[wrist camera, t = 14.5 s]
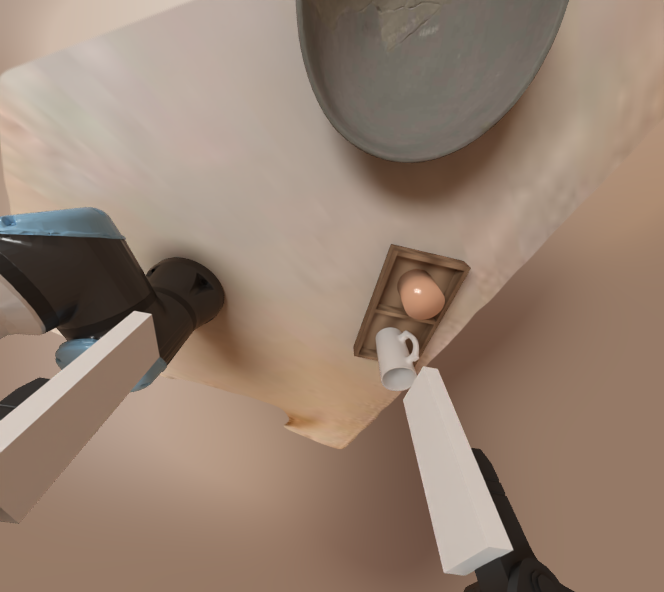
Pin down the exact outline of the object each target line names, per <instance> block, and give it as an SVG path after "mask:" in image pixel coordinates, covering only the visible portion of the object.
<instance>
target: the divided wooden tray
mask: <svg viewBox="0 0 664 592" xmlns="http://www.w3.org/2000/svg"><path fill="white" fill-rule="evenodd" d="M413 269H422V270H425V271H427V272H428V273H429V274H430V275H431V277H432V278H433V280H434V281H435V283H436V284H437V286H438V287H439V289H440V290H441V292H442V293H443V295H444V298H445V304H444V306H443V308H442V310H441V311H440V312H439V313H438V314H437V315H435V316H434V317H432V318H429V319H425V320H418V319H414V318H412V317H410V316H409V315H408V314H407V313H406V311H405V309H404V306H403V303H402V301H401V298H400V295H399V293H398V290H397V283H398V280H399V279H400V277H401V276H402V275H403V274H404V273H406V272H407V271H410V270H413ZM470 269H471V268H470V267H469V266H468V265H467V264H466V263H465V262H464V261H461V260H457V259H453V258H448V257H444V256H440V255H436V254H431V253H427V252H423V251H419V250H414V249H410V248H406V247H401V246H397V245H393V244H391V246H390V248H389V251H388V254H387V257H386V259H385V262H384V265H383V268H382V270H381V273H380V276H379V279H378V281H377V284H376V287H375V289H374V292H373V295H372V298H371V300H370V303H369V306H368V309H367V311H366V314H365V317H364V319H363V322H362V325H361V328H360V330H359V333H358V336H357V339H356V341H355V344H354V356H357V357H362V358H368V359H373V360H378V355H377V348H376V335H377V333H378V332H379V331H380V330H382V329H384V328H388V327H392V328H396V329H398V330H400V331H401V333H403V332H404V331H405V330H407V331H409V332H410V333H411V334H413V335H414V336H415V337H416V338H417V340H418V344H419V358H420V356H421V355H422V353H423V351H424V349H425V348H426V346H427V344H428V342H429V341H430V339H431V337H432V335H433V333H434V332H435V330H436V328H437V326H438V325H439V323H440V321H441V319H442V318H443V316H444V314H445V312H446V311H447V309H448V307H449V305H450V304H451V302H452V300H453V298H454V297H455V295H456V293H457V291H458V290H459V288H460V286H461V284H462V283H463V281H464V279H465V277H466V276H467V274H468V272H469V270H470ZM405 342H406V345H407V348H408V351H409V354H411V353H412V350H413V343H412V341H411V339H410V338H408V339H406V340H405ZM418 360H419V359H418ZM418 360H417V361H415V362H414V361H413V365H414V367H415V365H416V363H417V362H418Z"/></svg>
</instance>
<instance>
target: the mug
mask: <svg viewBox="0 0 664 592" xmlns="http://www.w3.org/2000/svg"><path fill="white" fill-rule="evenodd" d="M408 338H410V339H411V341H412V343H413V350H412V353H411V354H409V351H408V348H407V345H406V342H405V340H406V339H408ZM376 348H377V355H378V362H379V370H380V376H381V383H382V385H383V386H384V387H385V388H387V389H389V390H392V391H403V390H406V389H408V388H410V387H411V386H412V384H413V383H414V381H415V379H416V378H417V374H416V371H415V368H414V365H413V361H414V362H415V361H417V360H418V359H419V344H418V340H417V338H416V337H415V336H414V335H413V334H411V333H410V332H409V331H407V330H405V331H404V332H403V333H401V331H400V330H398V329H396V328H392V327H388V328H384V329H382V330H380V331H379V332H378V333H377V335H376Z"/></svg>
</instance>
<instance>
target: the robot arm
mask: <svg viewBox="0 0 664 592" xmlns="http://www.w3.org/2000/svg"><path fill="white" fill-rule="evenodd" d="M125 240H126V238H125V237H124V236H123V235H121V234H120V232H119V230H118V229H117V227H116V226H115V224H114V223H113V221H112V220H111V218H110V217H109V216H108V215H107V214H106V213H105V212H103V211H102V210H99V209H97V208H92V207H84V208H75V209H65V210H55V211H46V212H37V213H26V214H17V215H7V216H0V339H1V338H3V337H5V336H7V335H12V334H26V335H41V334H44V333H46V332H48V331H50V330H52V329H54V328H57V329H58V330H59V331H60V332H61V334H62V335H63V336H64V337H65V338H66V340H67V342H64V343H62V344H61V345H60V346H59V349H58V350H57V351H56V354H55V356H56V363H57V364H58V366H59V367H60V368H61V370H62V371H60V372H59V373H58V374H57V375H56V376H54V377H53V378H52V379H45V378H37V379H35V380H34V381H32V382H30V383H28V384H26V385H24V386H22V387H20V388H18V389H16V390H15V391H14V392H12V393H11V394H10V395H8V396H7V397H6V398H4V399H3V400H2V401H1V402H0V521H1V522H10V523H18V524H19V523H20V522H21V521H22V520H23V518H24V517H25V516H26V515H27V514H28V512H29V511H30V510H31V509H32V508H33V507H34V505H35V504H36V503H37V502H38V501H39V499H40V498H41V497H42V496H43V494H44V493H45V492H46V491H47V490H48V489H49V488H50V486H51V485H52V484H53V482H55V480H56V479H57V478H58V477H59V476H60V474H61V473H62V472H63V471H64V470H65V469H66V467H67V466H68V465H69V464H70V463H71V461H72V460H73V459H74V458H75V457H76V455H77V454H78V453H79V452H80V451H81V450H82V448H83V447H84V446H85V445H86V444H87V442H88V441H89V440H90V439H91V438H92V436H93V435H94V434H95V433H96V432H97V431H98V429H99V428H100V427H101V426H102V424H103V423H104V422H105V421H106V420H107V419H108V417H109V416H110V415H111V414H112V413H113V411H114V410H115V409H116V408H117V407H118V406H119V404H120V403H121V402H122V401H123V400H124V398H125V397H126V396H127V395H128V394H129V393H130V392H134V391H139V390H141V389H144V388H146V387H147V386H148V385H150V384H151V383H152V382H153V381H154V380H155V379H156V378H157V377H158V375H159V374H160V373H161V372H163V371H164V370H165V369H166V368H167V365H168V364H169V363H170V361H171V360H172V359H173V357H174V356H175V355H176V353H177V352H178V351H179V349H180V348H181V347H182V345H183V344H184V343H185V341H186V340H187V339H188V337H189V336H190V335H191V333H192V332H193V331H194V330H195V329H197V328H198V327H200V326H201V325H203V324H205V323H207V322H209V321H211V320H212V319H213V318H214V317H215V316H216V315H217V314H218V312H219V311H220V310H221V308H222V306H223V303H224V292H223V289H222V286H221V284H220V282H219V281H218V279H217V278H216V277H215V276H214V274H213V273H212V272H210V271H209V270H208V269H207V268H205V267H204V266H202V265H201V264H199V263H197V262H195V261H192V260H189V259H185V258H168V259H165V260H163V261H161V262H159V263H158V264H156V265H155V266H153V267H152V268H151V269H150V270H149V271H148V273H147V274H146V276H145V274H144V272H143V270H142V269H141V267H140V265H139V263H138V262H137V260H136V258H135V256H134V255H133V253H132V251H131V250H130V248H129V246H128V244H127V243H126V241H125ZM403 402H404V406H405V409H406V414H407V419H408V423H409V427H410V431H411V435H412V439H413V444H414V448H415V452H416V457H417V461H418V465H419V469H420V473H421V478H422V482H423V486H424V490H425V495H426V498H427V503H428V507H429V512H430V515H431V520H432V524H433V528H434V533H435V537H436V541H437V545H438V550H439V553H440V558H441V562H442V566H443V570H444V573H449V574H457V575H467V574H469V573H471V572H473V571H475V573H476V576H477V580H478V581H477V582H475V583H473V584H471V585H469V586H467V587H466V588H465V590H464V592H574V591H572V590H571V589H569V588H567V587H565V586H563V585H562V584H561V583H559V581H558V579H557V578H556V577H555V575H554V574H553V573H552V572H551V571H550V570H549V569H548V568H547V567H546V566H544V565H543V564H542V563H541V562H539V561H538V560H537V558H536V557H535V555H534V553H533V552H532V550H531V548H530V546H529V543H528V541H527V539H526V537H525V535H524V533H523V531H522V528H521V526H520V524H519V522H518V520H517V517H516V515H515V513H514V512H513V509H512V507H511V505H510V502H509V500H508V498H507V496H505V492H504V489H503V487H502V485H501V483H499V479H498V477H497V474H496V472H495V470H494V468H493V466H492V464H491V463H490V461H489V460H488V458H487V457H486V456H485V454H484V453H483V452H482V451H481V450H480V449H475V448H470V445H469V443H468V440H467V438H466V436H465V433H464V431H463V429H462V426H461V424H460V421H459V419H458V417H457V414H456V412H455V410H454V407H453V405H452V403H451V400H450V398H449V395H448V393H447V391H446V388H445V386H444V383H443V381H442V378H441V376H440V374H439V372H438V369H435V368H429V367H425V366H423V367H422V369H421V371H420V373H419V374H418V376H417V378H416V379H415V381H414V383H413V384H412V386H411V388H410V389H409V391H408V393H407V394H406V396H405V398H404V399H403Z"/></svg>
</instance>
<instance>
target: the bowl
mask: <svg viewBox="0 0 664 592" xmlns="http://www.w3.org/2000/svg"><path fill="white" fill-rule="evenodd" d="M568 2H569V0H296V14H297V25H298V34H299V41H300V47H301V52H302V56H303V61H304V64H305V68H306V72H307V75H308V78H309V81H310V84H311V87H312V90H313V92H314V94H315V96H316V98H317V101H318V103H319V105H320V107H321V108H322V110H323V112H324V114H325V115H326V117H327V118H328V120H329V121H330V123H331V124H332V126H333V127H334V128H335V129H336V130H337V131H338V132H339V133H340V134H341V135H342V136H343V137H344V138H345V139H346V140H347V141H349V142H350V143H351V144H353V145H354V146H356V147H357V148H359V149H360V150H362V151H364V152H366V153H368V154H370V155H372V156H375V157H378V158H381V159H384V160H388V161H393V162H403V163H415V162H424V161H429V160H434V159H437V158H441V157H444V156H446V155H449V154H451V153H453V152H455V151H457V150H460V149H461V148H463V147H465V146H467V145H469V144H470V143H472V142H473V141H475V140H476V139H478V138H479V137H480V136H482V135H483V134H484V133H486V132H487V131H488V130H489V129H490V128H492V127H493V126H494V125H495V124H496V123H497V122H498V121H499V120H500V119H501V118H502V117H503V116H504V115H505V114H506V113H507V112H508V111H509V110H510V109H511V108H512V107H513V106H514V104H515V103H516V102H517V101H518V100H519V98H520V97H521V96H522V94H523V93H524V92H525V90H526V89H527V87H528V86H529V85H530V83H531V82H532V80H533V79H534V77H535V75H536V74H537V72H538V70H539V69H540V67H541V65H542V63H543V61H544V60H545V58H546V56H547V54H548V52H549V50H550V48H551V46H552V44H553V42H554V39H555V37H556V35H557V33H558V30H559V27H560V25H561V22H562V20H563V17H564V14H565V11H566V8H567V5H568Z"/></svg>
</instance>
